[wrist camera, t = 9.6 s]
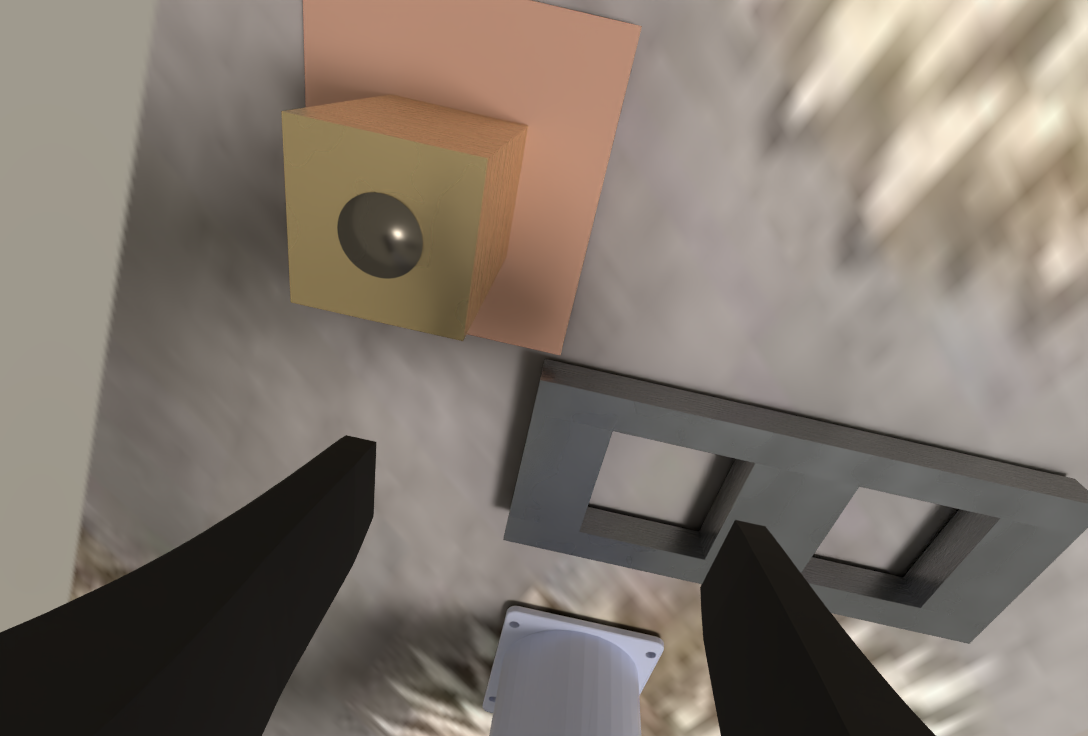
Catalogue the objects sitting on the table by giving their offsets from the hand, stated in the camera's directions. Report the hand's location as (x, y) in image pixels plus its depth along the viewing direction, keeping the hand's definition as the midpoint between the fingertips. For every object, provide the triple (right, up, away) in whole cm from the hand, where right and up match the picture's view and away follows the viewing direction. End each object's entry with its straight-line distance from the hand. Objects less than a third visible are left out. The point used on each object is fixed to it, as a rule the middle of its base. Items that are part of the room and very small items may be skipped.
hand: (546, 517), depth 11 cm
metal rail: (+9, -2, +11) cm, 14 cm away
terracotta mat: (-3, +9, +6) cm, 11 cm away
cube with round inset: (-3, +9, +6) cm, 11 cm away
